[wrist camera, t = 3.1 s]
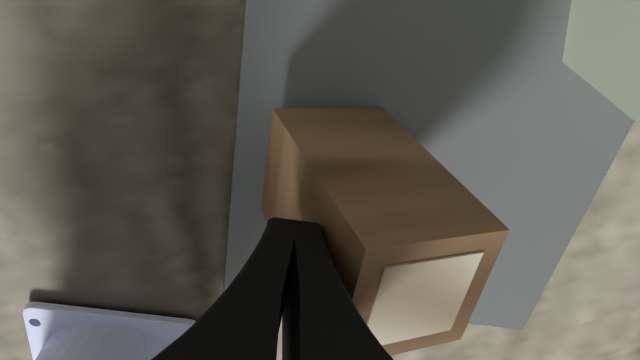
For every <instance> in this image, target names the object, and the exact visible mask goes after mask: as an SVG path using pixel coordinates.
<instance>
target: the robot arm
mask: <svg viewBox="0 0 640 360" xmlns="http://www.w3.org/2000/svg"><path fill="white" fill-rule="evenodd" d="M23 317H24V322H25V326H26V331H27V336H28V340H29V345H30V349H31V354H32V358H33V360H276V355H277V341H278V332H279V328H280V323H281V318H282V360H393V359H392V357H391V356H390V355H389V354H388V353H387V351H386V350H385V349H384V348H383V347H382V345H381V344H380V342H379V341H378V340H377V338H376V337H375V336H374V334H373V333H372V332H371V330H370V329H369V327H368V326H367V324H366V323H365V321H364V320H363V318H362V317H361V315H360V313H359V312H358V310H357V308H356V307H355V305H354V303H353V301H352V300H351V298H350V296H349V294H348V292H347V291H346V289H345V287H344V285H343V283H342V281H341V279H340V276H339V274H338V272H337V270H336V268H335V266H334V263H333V261H332V259H331V256H330V253H329V251H328V248H327V245H326V242H325V239H324V236H323V233H322V228H321V226H320V225H319V224H318V223H316V222H308V221H300V220H292V219H284V218H276V217H272V218H271V219H269V220H268V222H267V226H266V228H265V230H264V233H263V235H262V237H261V239H260V241H259V242H258V244H257V246H256V248H255V249H254V251H253V252H252V254H251V256H250V257H249V259H248V260H247V262H246V263H245V265H244V266H243V268H242V269H241V271H240V272H239V273H238V274H237V276H236V277H235V278H234V280H233V281H232V282H231V284H230V285H229V286H228V288H227V289H226V290H225V291H224V292H223V294H222V295H221V296H220V297H219V298H218V299H217V300H216V301H215V303H214V304H213V305H212V306H211V307H210V308H209V309H208V310H207V311H206V312H205V313H204V314H203V315H202V316H201V317H200V318H199V319H198V320H197V321H194V320H192V319H185V318H176V317H168V316H159V315H150V314H141V313H132V312H123V311H115V310H106V309H97V308H88V307H79V306H70V305H62V304H53V303H44V302H29V303H28V304H27V305H26V306H25V308H24V309H23Z"/></svg>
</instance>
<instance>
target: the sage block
mask: <svg viewBox="0 0 640 360" xmlns="http://www.w3.org/2000/svg"><path fill="white" fill-rule="evenodd" d="M562 62H563V63H564V64H566V65H567V66H568V67H569V68H570V69H572V70H573V71H574V72H575V73H577V74H578V75H579V76H580V77H581V78H583V79H584V80H585V81H586V82H588V83H589V84H590V85H591V86H592V87H594V88H595V89H596V90H597V91H598V92H600V93H601V94H602V95H603V96H605V97H606V98H607V99H608V100H609V101H611V102H612V103H613V104H614V105H616V106H617V107H618V108H619V109H620V110H622V111H623V112H624V113H625V114H626V115H628V116H629V117H630V118H631V119H633V120H634V121H635V122H636V123H637V124H639V125H640V0H572V1H571V7H570V14H569V21H568V27H567V34H566V40H565V47H564V53H563V60H562Z"/></svg>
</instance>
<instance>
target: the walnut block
mask: <svg viewBox="0 0 640 360" xmlns="http://www.w3.org/2000/svg"><path fill="white" fill-rule="evenodd" d="M261 210H262V212H263V215H264V217H265V219H266V221H267V222H268V220H269V219H271V218H272V217H276V218H284V219H292V220H300V221H308V222H316V223H318V224H319V225H320V226H321V228H322V233H323V236H324V239H325V242H326V245H327V248H328V251H329V253H330V256H331V259H332V261H333V263H334V266H335V268H336V270H337V272H338V274H339V276H340V279H341V281H342V283H343V285H344V287H345V289H346V291H347V292H348V294H349V296H350V298H351V300H352V301H353V303H354V305H355V307H356V308H357V310H358V312H359V313H360V315H361V317H362V318H363V320H364V321H365V323H366V324H367V326H368V327H369V329H370V330H371V332H372V333H373V334H374V336H375V337H376V338H377V340H378V341H379V342H380V344H381V345H382V347H383V348H384V349H385V350H386V351H387V353H388V354H389V355H390V356H391V355H395V354H399V353H403V352H408V351H412V350H416V349H421V348H425V347H429V346H433V345H438V344H442V343H446V342H451V341H455V340H459V339H461V337H462V335H463V333H464V331H465V328H466V326H467V324H468V322H469V320H470V317H471V315H472V313H473V311H474V308H475V306H476V304H477V302H478V300H479V297H480V295H481V293H482V291H483V288H484V286H485V284H486V282H487V280H488V277H489V275H490V273H491V271H492V268H493V266H494V264H495V262H496V260H497V257H498V255H499V253H500V251H501V248H502V246H503V244H504V242H505V240H506V237H507V235H508V233H509V231H510V230H509V229H508V228H507V227H506V226H505V225H504V224H503V223H502V222H501V221H500V220H499V219H498V218H497V217H496V216H495V215H494V214H493V213H492V212H491V211H490V210H489V209H488V208H487V207H486V206H484V205H483V204H482V203H481V202H480V201H479V200H478V199H477V198H476V197H475V196H474V195H473V194H472V193H471V192H470V191H469V190H468V189H467V188H466V187H465V186H464V185H463V184H462V183H460V182H459V181H458V180H457V179H456V178H455V177H454V176H453V175H452V174H451V173H450V172H449V171H448V170H447V169H446V168H445V167H444V166H443V165H442V164H441V163H440V162H439V161H438V160H436V159H435V158H434V157H433V156H432V155H431V154H430V153H429V152H428V151H427V150H426V149H425V148H424V147H423V146H422V145H421V144H420V143H419V142H418V141H417V140H416V139H415V138H414V137H412V136H411V135H410V134H409V133H408V132H407V131H406V130H405V129H404V128H403V127H402V126H401V125H400V124H399V123H398V122H397V121H396V120H395V119H394V118H393V117H392V116H391V115H390V114H388V113H387V112H386V111H385V110H384V109H383V108H382V107H345V108H278V109H273V111H272V120H271V128H270V137H269V145H268V154H267V162H266V171H265V179H264V188H263V196H262V205H261Z"/></svg>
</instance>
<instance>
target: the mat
mask: <svg viewBox="0 0 640 360" xmlns="http://www.w3.org/2000/svg"><path fill="white" fill-rule="evenodd" d="M571 1H572V0H246V7H245V20H244V33H243V46H242V59H241V72H240V85H239V98H238V111H237V124H236V137H235V150H234V163H233V176H232V189H231V202H230V215H229V228H228V241H227V254H226V266H225V279H224V291H225V290H226V289H227V288H228V286H229V285H230V284H231V282H232V281H233V280H234V278H235V277H236V276H237V274H238V273H239V272H240V271H241V269H242V268H243V266H244V265H245V263H246V262H247V260H248V259H249V257H250V256H251V254H252V252H253V251H254V249H255V248H256V246H257V244H258V242H259V241H260V239H261V237H262V235H263V233H264V230H265V228H266V226H267V221H266V219H265V217H264V215H263V212H262V210H261V205H262V196H263V188H264V179H265V171H266V162H267V154H268V145H269V137H270V128H271V120H272V111H273V109H278V108H345V107H382V108H383V109H384V110H385V111H386V112H387V113H388V114H390V115H391V116H392V117H393V118H394V119H395V120H396V121H397V122H398V123H399V124H400V125H401V126H402V127H403V128H404V129H405V130H406V131H407V132H408V133H409V134H410V135H411V136H412V137H414V138H415V139H416V140H417V141H418V142H419V143H420V144H421V145H422V146H423V147H424V148H425V149H426V150H427V151H428V152H429V153H430V154H431V155H432V156H433V157H434V158H435V159H436V160H438V161H439V162H440V163H441V164H442V165H443V166H444V167H445V168H446V169H447V170H448V171H449V172H450V173H451V174H452V175H453V176H454V177H455V178H456V179H457V180H458V181H459V182H460V183H462V184H463V185H464V186H465V187H466V188H467V189H468V190H469V191H470V192H471V193H472V194H473V195H474V196H475V197H476V198H477V199H478V200H479V201H480V202H481V203H482V204H483V205H484V206H486V207H487V208H488V209H489V210H490V211H491V212H492V213H493V214H494V215H495V216H496V217H497V218H498V219H499V220H500V221H501V222H502V223H503V224H504V225H505V226H506V227H507V228H508V229H509V230H510V231H509V233H508V235H507V237H506V240H505V242H504V244H503V246H502V248H501V251H500V253H499V255H498V257H497V260H496V262H495V264H494V266H493V268H492V271H491V273H490V275H489V277H488V280H487V282H486V284H485V286H484V288H483V291H482V293H481V295H480V297H479V300H478V302H477V304H476V306H475V308H474V311H473V313H472V315H471V317H470V320H469V322H468V323H470V324H479V325H487V326H496V327H504V328H513V329H521V330H522V329H523V327H524V326H525V324H526V322H527V320H528V318H529V316H530V314H531V313H532V311H533V309H534V307H535V305H536V303H537V301H538V300H539V298H540V296H541V294H542V292H543V290H544V288H545V287H546V285H547V283H548V281H549V279H550V277H551V275H552V273H553V272H554V270H555V268H556V266H557V264H558V262H559V260H560V259H561V257H562V255H563V253H564V251H565V249H566V247H567V246H568V244H569V242H570V240H571V238H572V236H573V234H574V233H575V231H576V229H577V227H578V225H579V223H580V221H581V219H582V218H583V216H584V214H585V212H586V210H587V208H588V206H589V205H590V203H591V201H592V199H593V197H594V195H595V193H596V192H597V190H598V188H599V186H600V184H601V182H602V180H603V179H604V177H605V175H606V173H607V171H608V169H609V167H610V166H611V164H612V162H613V160H614V158H615V156H616V154H617V152H618V151H619V149H620V147H621V145H622V143H623V141H624V139H625V138H626V136H627V134H628V132H629V130H630V128H631V126H632V125H633V123H634V120H633V119H631V118H630V117H629V116H628V115H626V114H625V113H624V112H623V111H622V110H620V109H619V108H618V107H617V106H616V105H614V104H613V103H612V102H611V101H609V100H608V99H607V98H606V97H605V96H603V95H602V94H601V93H600V92H598V91H597V90H596V89H595V88H594V87H592V86H591V85H590V84H589V83H588V82H586V81H585V80H584V79H583V78H581V77H580V76H579V75H578V74H577V73H575V72H574V71H573V70H572V69H570V68H569V67H568V66H567V65H566V64H564V63H563V62H562V60H563V53H564V47H565V40H566V34H567V27H568V21H569V14H570V7H571Z"/></svg>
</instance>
